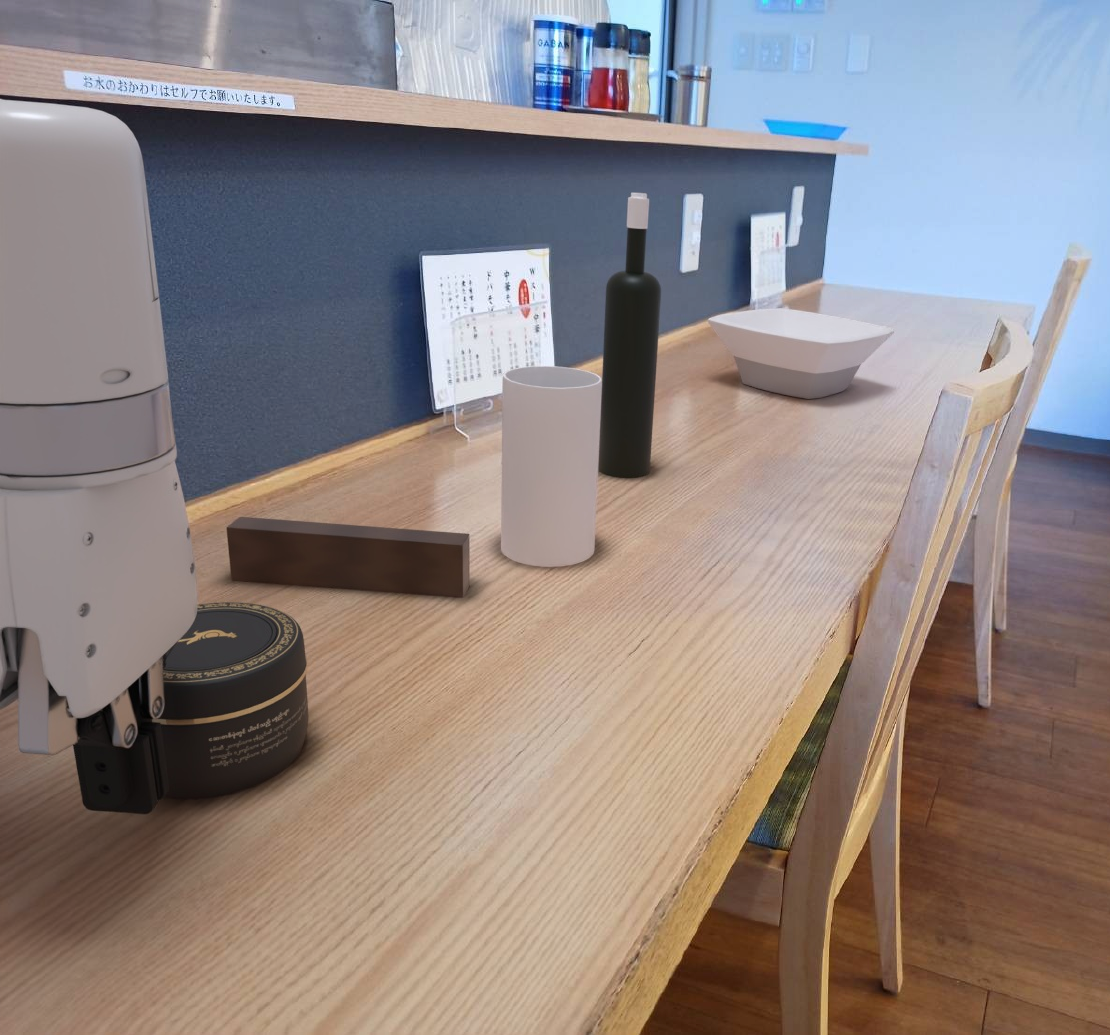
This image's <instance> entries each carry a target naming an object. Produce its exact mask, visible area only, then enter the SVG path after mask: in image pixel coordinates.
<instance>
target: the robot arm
mask: <svg viewBox="0 0 1110 1035" xmlns="http://www.w3.org/2000/svg"><path fill="white" fill-rule="evenodd" d="M153 242H154V241H153V234H152V226H151V217H150V207H149V199H148V190H147V182H146V173H145V167H144V160H143V154H142V151H141V147H140V145H139V142H138V140H137V139H136V136H135V135H134V132H133V131H132V130H131V129H130V127H129V126H128V125H127V124H126V123H125V122H124V121H122V120H121V119H119V118H118V117H117V116H115V115H113V114H110V113H108V112H106V111H103V110H100V109H96V108H92V107H91V108H90V107H87V106H79V105H78V106H76V105H68V104H61V103H60V104H58V103H49V102H38V101H24V100H13V99H12V100H11V99H3V98H0V710H3V709H4V708H7V707H8V706H10V705H11V704H12V703H14V702H15V701H17V746H18V750H19V751H20V753H21V754H29V755H30V754H31V755H43V756H56V755H57V754H59V753H61V752H63V751H65V750H67V749H68V748H70V747H72V749H73V752H74V753H73V754H74V760H75V766H76V772H77V777H78V783H79V789H80V795H81V801H82V805H83V807H84V808H85V809H87V810H89V811H91V812H92V811H94V812H107V813H120V814H121V813H122V814H137V815H148V814H150V813H151V812H152V811H153V810H154V809H155V808H156V806H157V805H158V803H159V802H158V801H160V800H162V799H163V798H165V797H164V796H165V794H166V793H167V792H168V790H169V782H168V775H167V767H166V760H165V753H164V745H163V738H162V730H161V723H159V722H152V719H159V718H160V716H161V715H162V713H163V710H164V706H165V694H164V668H165V666H166V664H167V663H165V662H166V659H167V657H168V655H169V654H170V652H171V651H172V650H173V648H174V647H175V645H176V644H177V642H178V641H179V639H180V638H181V637H182V636H183V635H184V634H185V633H186V632H187V631H188V630H189V628H190V627H191V625H192V624H193V622H194V620H195V618H196V615H197V608H198V605H199V603H198V602H199V601H198V600H199V599H198V598H199V596H198V580H197V570H196V563H195V562H196V561H195V555H194V554H195V553H194V547H193V540H192V534H191V529H190V523H189V517H188V513H187V507H186V502H185V501H186V500H185V496H184V494H183V489H182V484H181V480H180V475H179V472H178V469H177V465H176V460H177V457H178V450H177V442H176V434H175V433H176V432H175V426H174V417H173V408H172V399H171V391H170V390H171V389H170V382H169V371H168V363H167V355H166V354H167V353H166V345H165V335H164V329H163V318H162V311H161V310H162V309H161V302H160V292H159V284H158V276H157V268H156V258H155V251H154V243H153Z"/></svg>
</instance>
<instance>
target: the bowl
mask: <svg viewBox="0 0 1110 1035" xmlns="http://www.w3.org/2000/svg"><path fill="white" fill-rule="evenodd" d="M707 323H708V324H709V326H710V327H711V329H712V330H713V331H714V332H715V334H716V335H717V336H718V338H719V339H720V341H721V343H723V345H724V346H725V347H726V348H727V350H728V352H729V353H730V354H731V356H732V357H733V358H734V362H735V364H736V367H737V371H738V373H739V377H740V379H741V383H742V384H744V385H746V386H749V387H752V388H755V389H759V390H762V391H766V392H770V393H773V394H778V395H784V396H787V397H794V398H799V399H804V400H813V399H821V398H824V397H828V396H829V397H830V396H833V395H836V394H839V393H842V392H844V391H845V390H846V389H848V387H849V386H850V384H851V382H853V379H854V377H856V374H857V372H858V370H859V369H860V367H861V365H862V364H863V363H865V362H866V360H868V358H870V357H871V356H872V355H873V354H874V353H875V352H876V351H877V350H878V349H879V348H880V347H881V346H882V345H883V344H884V343H885V342H886V341H887V340H888V339H889V338H890V337H891V336H892V335H894V333H895V329H894V328H893V327H889V326H885V325H881V324H877V323H872V322H867V321H863V320H859V319H852V318H848V317H843V316H837V315H830V314H824V313H818V312H812V311H804V310H799V309H791V308H784V307H775V308H774V307H773V308H759V309H750V310H742V311H735V312H728V313H721V314H717V315H715V316H711V317H710V318H708V319H707Z"/></svg>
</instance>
